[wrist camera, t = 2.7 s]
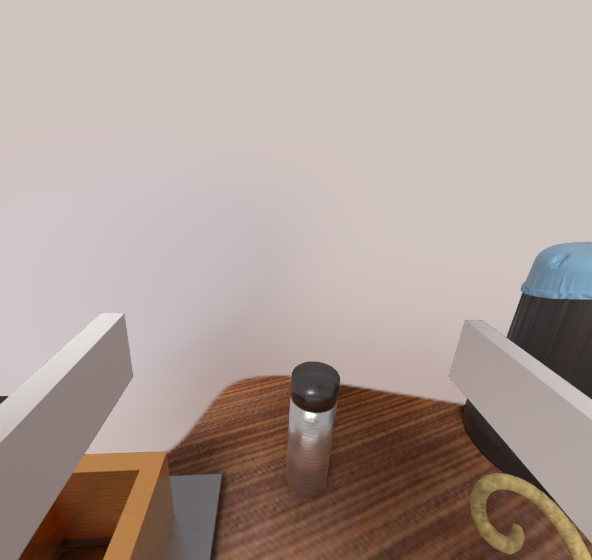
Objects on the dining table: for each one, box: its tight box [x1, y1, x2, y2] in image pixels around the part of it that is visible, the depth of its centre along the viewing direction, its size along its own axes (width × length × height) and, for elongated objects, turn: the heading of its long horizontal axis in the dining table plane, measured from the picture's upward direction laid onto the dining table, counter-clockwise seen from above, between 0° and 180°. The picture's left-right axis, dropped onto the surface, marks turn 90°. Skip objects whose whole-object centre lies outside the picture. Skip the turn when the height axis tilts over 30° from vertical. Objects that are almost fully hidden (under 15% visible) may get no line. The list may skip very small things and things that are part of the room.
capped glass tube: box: [286, 362, 340, 499], centre depth 28 cm, size 4×4×12 cm
